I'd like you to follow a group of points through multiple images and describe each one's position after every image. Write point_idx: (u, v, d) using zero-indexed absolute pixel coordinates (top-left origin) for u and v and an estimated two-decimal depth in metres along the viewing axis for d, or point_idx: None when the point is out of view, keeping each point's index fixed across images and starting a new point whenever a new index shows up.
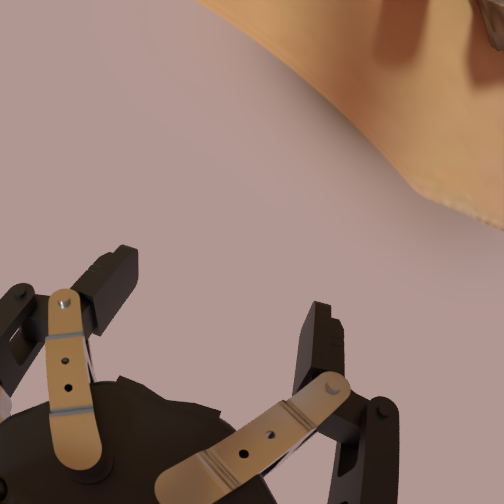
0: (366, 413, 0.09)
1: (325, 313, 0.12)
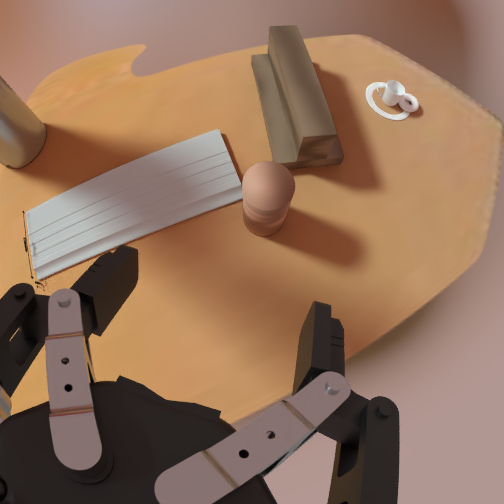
0: (366, 413, 0.09)
1: (325, 313, 0.12)
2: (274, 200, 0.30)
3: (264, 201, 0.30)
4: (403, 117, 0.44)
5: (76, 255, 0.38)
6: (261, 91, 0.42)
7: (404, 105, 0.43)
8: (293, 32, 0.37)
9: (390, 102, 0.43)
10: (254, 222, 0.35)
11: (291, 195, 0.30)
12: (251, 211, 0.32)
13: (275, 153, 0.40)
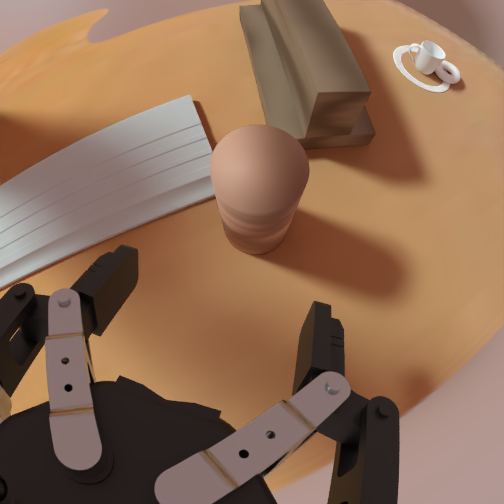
0: (366, 413, 0.09)
1: (325, 313, 0.12)
2: (270, 195, 0.15)
3: (251, 197, 0.15)
4: (443, 89, 0.29)
5: None
6: (252, 45, 0.27)
7: (443, 74, 0.29)
8: None
9: (426, 68, 0.28)
10: (237, 234, 0.21)
11: (303, 185, 0.16)
12: (229, 216, 0.18)
13: None
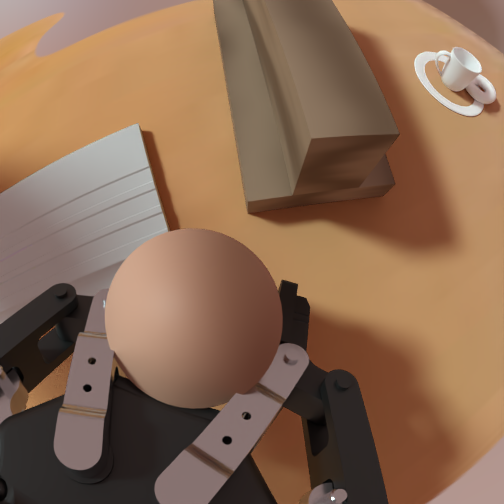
0: (325, 389, 0.09)
1: (291, 290, 0.13)
2: (207, 379, 0.08)
3: (173, 381, 0.08)
4: (476, 112, 0.22)
5: None
6: (224, 52, 0.20)
7: (477, 91, 0.21)
8: None
9: (457, 84, 0.21)
10: None
11: (268, 360, 0.08)
12: None
13: (246, 177, 0.18)
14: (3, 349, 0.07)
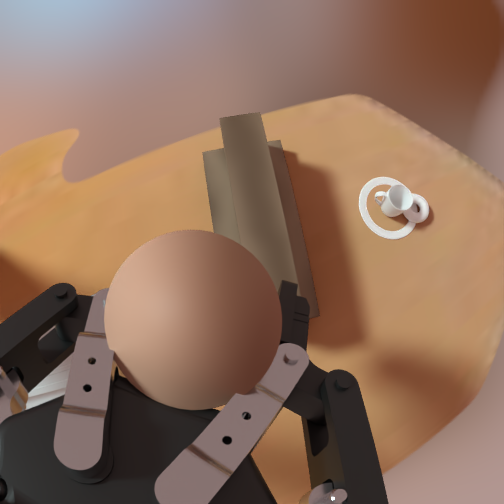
0: (325, 389, 0.09)
1: (291, 290, 0.13)
2: (206, 380, 0.08)
3: (173, 382, 0.08)
4: (407, 232, 0.36)
5: (31, 401, 0.30)
6: (213, 217, 0.34)
7: (409, 215, 0.35)
8: (253, 127, 0.29)
9: (391, 215, 0.35)
10: None
11: (267, 361, 0.08)
12: None
13: None
14: (3, 349, 0.07)
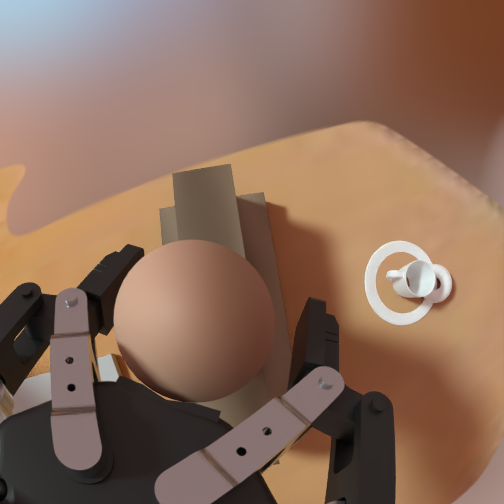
0: (360, 409, 0.09)
1: (320, 309, 0.12)
2: (206, 376, 0.09)
3: (176, 377, 0.09)
4: (422, 313, 0.27)
5: None
6: None
7: (428, 294, 0.27)
8: (220, 189, 0.21)
9: (405, 296, 0.26)
10: None
11: (261, 359, 0.09)
12: None
13: None
14: None
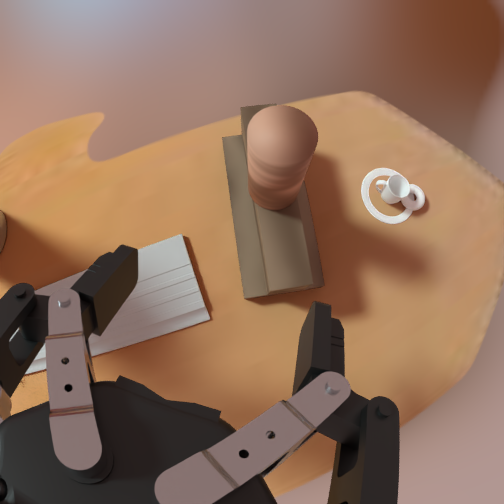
0: (366, 413, 0.09)
1: (325, 313, 0.12)
2: (290, 153, 0.21)
3: (277, 154, 0.21)
4: (404, 218, 0.39)
5: None
6: (231, 195, 0.38)
7: (407, 203, 0.39)
8: None
9: (390, 201, 0.38)
10: (262, 188, 0.26)
11: (313, 147, 0.21)
12: (259, 170, 0.24)
13: (243, 284, 0.36)
14: None
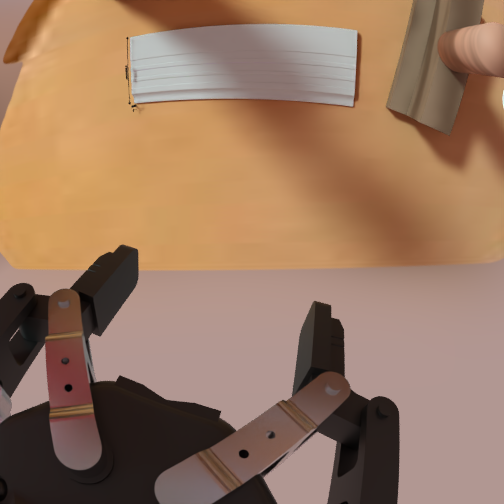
0: (366, 413, 0.09)
1: (325, 313, 0.12)
2: (499, 67, 0.17)
3: (491, 62, 0.17)
4: None
5: (178, 93, 0.40)
6: (412, 26, 0.28)
7: None
8: None
9: None
10: (458, 59, 0.21)
11: None
12: (468, 55, 0.19)
13: (393, 98, 0.34)
14: None
